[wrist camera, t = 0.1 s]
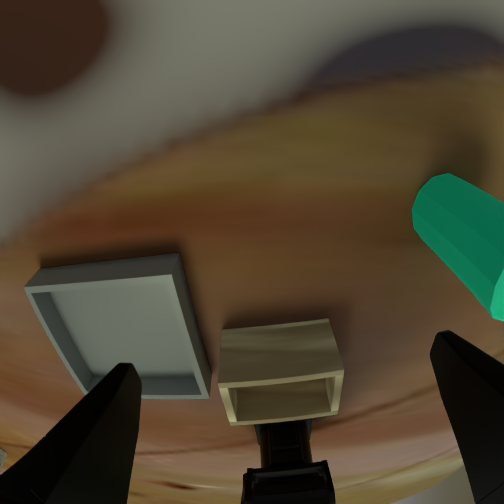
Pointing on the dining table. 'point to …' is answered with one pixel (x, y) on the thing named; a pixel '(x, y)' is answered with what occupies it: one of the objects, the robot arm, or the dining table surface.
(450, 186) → the candle
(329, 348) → the birch crate
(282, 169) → the dining table surface
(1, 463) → the supplement box
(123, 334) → the grey tray
